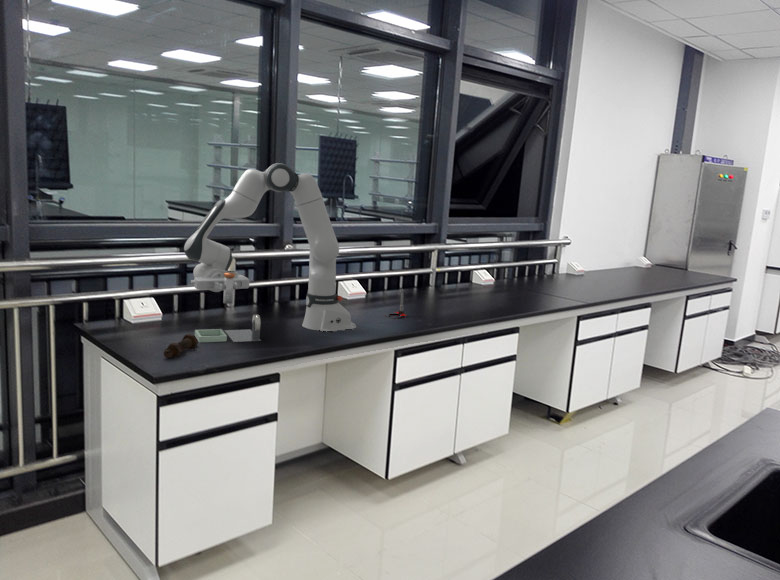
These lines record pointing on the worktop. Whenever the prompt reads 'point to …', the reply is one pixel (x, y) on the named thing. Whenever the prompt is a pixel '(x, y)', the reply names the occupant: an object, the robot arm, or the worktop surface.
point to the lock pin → (228, 287)
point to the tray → (203, 338)
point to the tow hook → (401, 306)
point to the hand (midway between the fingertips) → (229, 287)
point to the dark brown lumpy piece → (181, 346)
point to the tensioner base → (247, 332)
